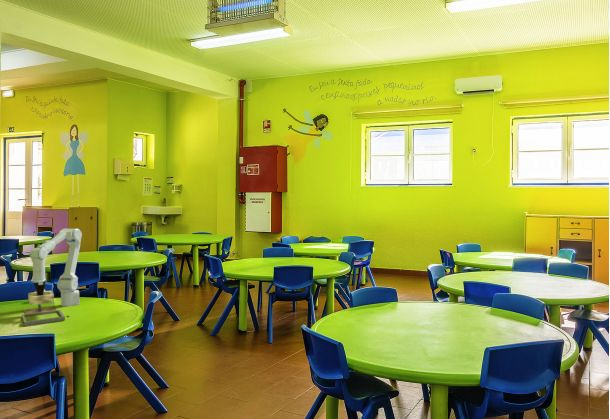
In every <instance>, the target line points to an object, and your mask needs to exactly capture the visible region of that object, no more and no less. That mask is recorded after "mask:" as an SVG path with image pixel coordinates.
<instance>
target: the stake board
mask: <svg viewBox="0 0 610 419" xmlns="http://www.w3.org/2000/svg"><path fill="white" fill-rule="evenodd" d="M37 306H38V307H33V308H26V309H25V308H24V309H23V310H22V311H23V315H24V314H32V313H40V312H47V311H55V310H57V309H56V308H55V307H54V305H49V306H43V307H42V304H37Z"/></svg>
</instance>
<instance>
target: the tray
mask: <svg viewBox="0 0 610 419" xmlns="http://www.w3.org/2000/svg"><path fill="white" fill-rule="evenodd" d="M57 313H58V314H59V316H57V317H50V318H42V319H34V320H28V321H27V318H26V317H34V316H41V315H49V314H57ZM21 317H22V318H21V319H22V320H23V325H24V327H29V326H31V327H32V326H36V325H37V326H38V325H45V324H50V323H52V324H53V323H58V322H57V321H59V322H64V320H65V321H66V317H65V315H64V313H63V312H62V310H61V309H56V310H55V311H47V312H40V313H32V314H24V313H23V314H22V315H21Z"/></svg>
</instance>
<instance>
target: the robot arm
mask: <svg viewBox="0 0 610 419" xmlns="http://www.w3.org/2000/svg"><path fill="white" fill-rule="evenodd" d="M82 236H83V233H82V231H81V230H80V229H79V228H62V229H60V230H59V233H58V234H57V235H55V236H54V237H53V238H52V239H51V240H50V239H47V240H44V242H43V243H41V244H40V245H38V246H37V247H35V248H32V249H31V250H30V253H29V258H30V259H31V262H32V279H30V281H31V282H33V286H34V288H35V291H36V292H37V295H38V296H42V295H43V292H44V288H45V289H46V286H47V283H46V281H47V278H46V259H47V257H48V254H49V253H51V252H52V251H53V250H55V248H56V245H59V244H60V243H62V241H64V242H66V244H68V246H69V248H68V252H67V257H66V258H67V259H66V262H65V267H64V272H63V273H62V275H60V276H59V278H58V281H57V283H56V286H57V289H58V290H59V292H60V303H61V304H60V305H61V307H72V306H78V305H81V304H80V302H81V301H80V290H79V289H78V287H79V283H78V280H79V277H78V276H77V275H76V268H77V263H78V258H79V253H80V249H81V243H82V242H81V241H82Z"/></svg>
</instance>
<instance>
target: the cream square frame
mask: <svg viewBox="0 0 610 419" xmlns="http://www.w3.org/2000/svg"><path fill="white" fill-rule="evenodd" d="M27 295H28V296H27V297H28V298H27V299H28V304H29V306H35V305H37V306H38V304H41V305H43V304H53V303H55V294H54V292H53V291H52V290H45V291H44V292H43V295H42V296H38V295H37V292H35V291H33V292H28V293H27Z"/></svg>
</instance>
